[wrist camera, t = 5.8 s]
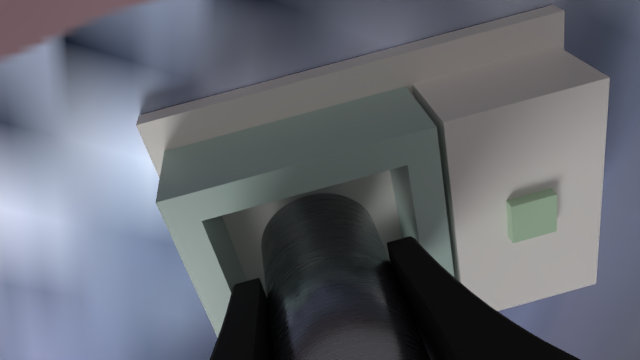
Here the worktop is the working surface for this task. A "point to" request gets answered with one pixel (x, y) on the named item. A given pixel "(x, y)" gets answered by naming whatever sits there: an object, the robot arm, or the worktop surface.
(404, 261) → the robot arm
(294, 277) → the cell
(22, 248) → the worktop surface
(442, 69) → the charger
